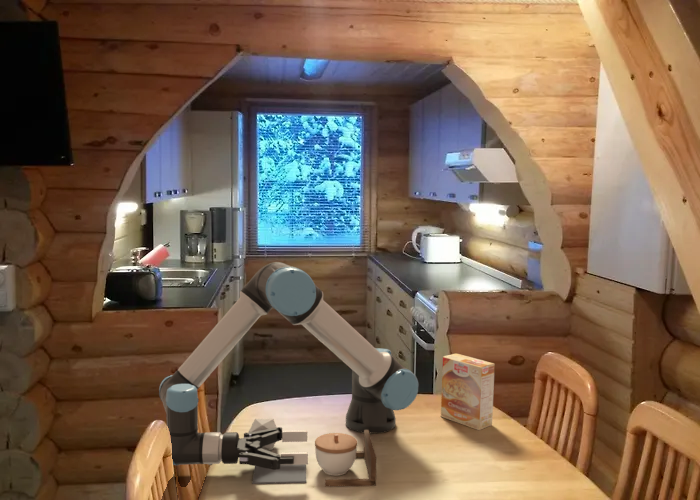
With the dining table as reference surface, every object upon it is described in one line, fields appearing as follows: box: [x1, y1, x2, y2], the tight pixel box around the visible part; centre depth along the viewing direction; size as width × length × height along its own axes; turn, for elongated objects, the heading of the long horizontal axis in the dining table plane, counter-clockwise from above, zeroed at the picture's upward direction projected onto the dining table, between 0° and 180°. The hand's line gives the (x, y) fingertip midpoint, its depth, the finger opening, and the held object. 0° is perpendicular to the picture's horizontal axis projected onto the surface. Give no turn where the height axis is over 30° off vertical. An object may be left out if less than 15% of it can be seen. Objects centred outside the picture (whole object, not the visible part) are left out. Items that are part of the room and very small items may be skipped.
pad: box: [252, 464, 307, 485], centre depth 160 cm, size 13×13×1 cm
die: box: [248, 418, 277, 451], centre depth 174 cm, size 8×9×10 cm
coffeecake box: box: [440, 353, 496, 431], centre depth 196 cm, size 15×7×20 cm, turn 42°
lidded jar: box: [314, 432, 358, 477], centre depth 161 cm, size 11×11×9 cm
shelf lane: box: [324, 430, 377, 488], centre depth 161 cm, size 12×17×7 cm
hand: (307, 446), depth 160 cm, fingers open, 13 cm apart
